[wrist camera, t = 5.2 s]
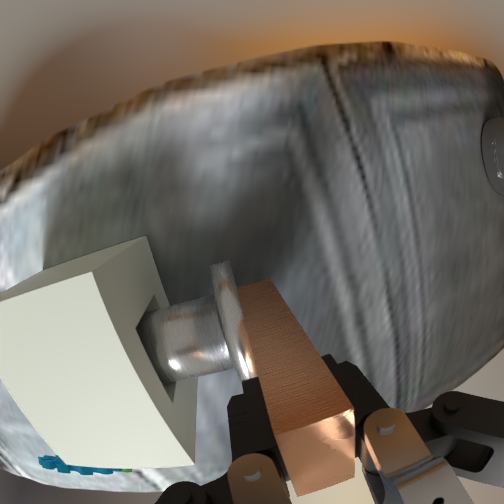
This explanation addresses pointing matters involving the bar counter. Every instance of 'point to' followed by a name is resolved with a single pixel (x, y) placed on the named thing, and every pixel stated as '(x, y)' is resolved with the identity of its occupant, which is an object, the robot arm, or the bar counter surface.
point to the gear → (58, 463)
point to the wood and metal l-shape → (260, 370)
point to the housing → (95, 363)
